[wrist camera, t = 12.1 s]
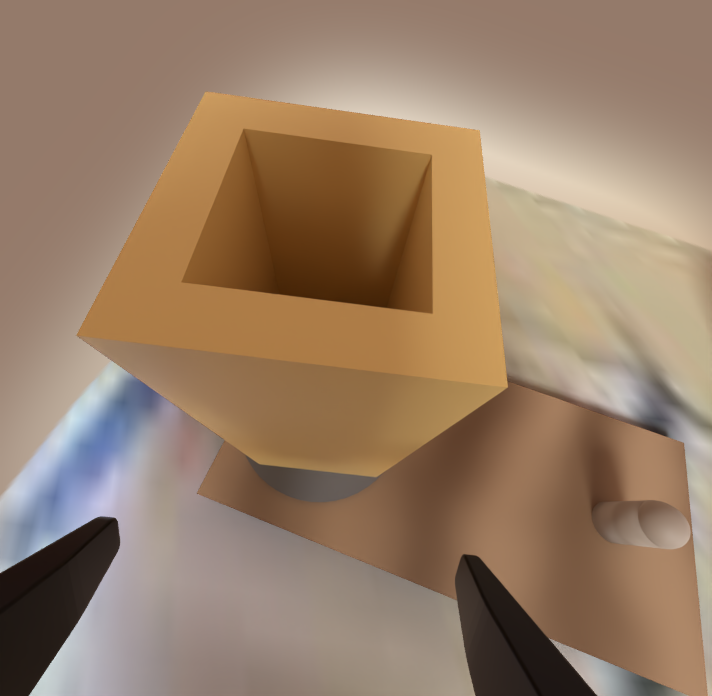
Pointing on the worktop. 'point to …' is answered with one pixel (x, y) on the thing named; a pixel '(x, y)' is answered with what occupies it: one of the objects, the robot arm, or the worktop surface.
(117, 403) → the worktop surface
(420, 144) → the sleeve
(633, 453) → the board
